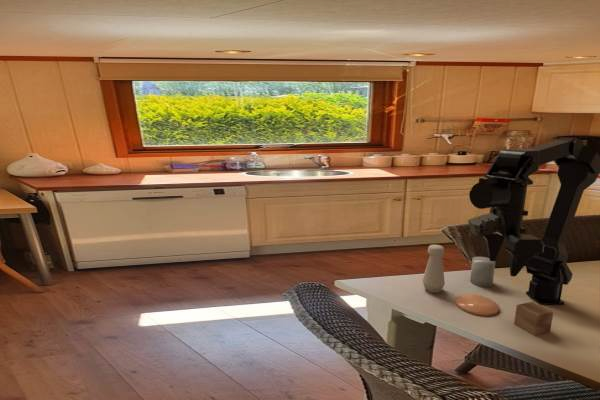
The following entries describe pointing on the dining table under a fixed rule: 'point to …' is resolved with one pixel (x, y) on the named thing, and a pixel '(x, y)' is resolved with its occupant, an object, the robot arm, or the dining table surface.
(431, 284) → the salt shaker
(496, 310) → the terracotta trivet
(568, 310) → the dining table surface
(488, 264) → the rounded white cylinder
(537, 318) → the walnut block
